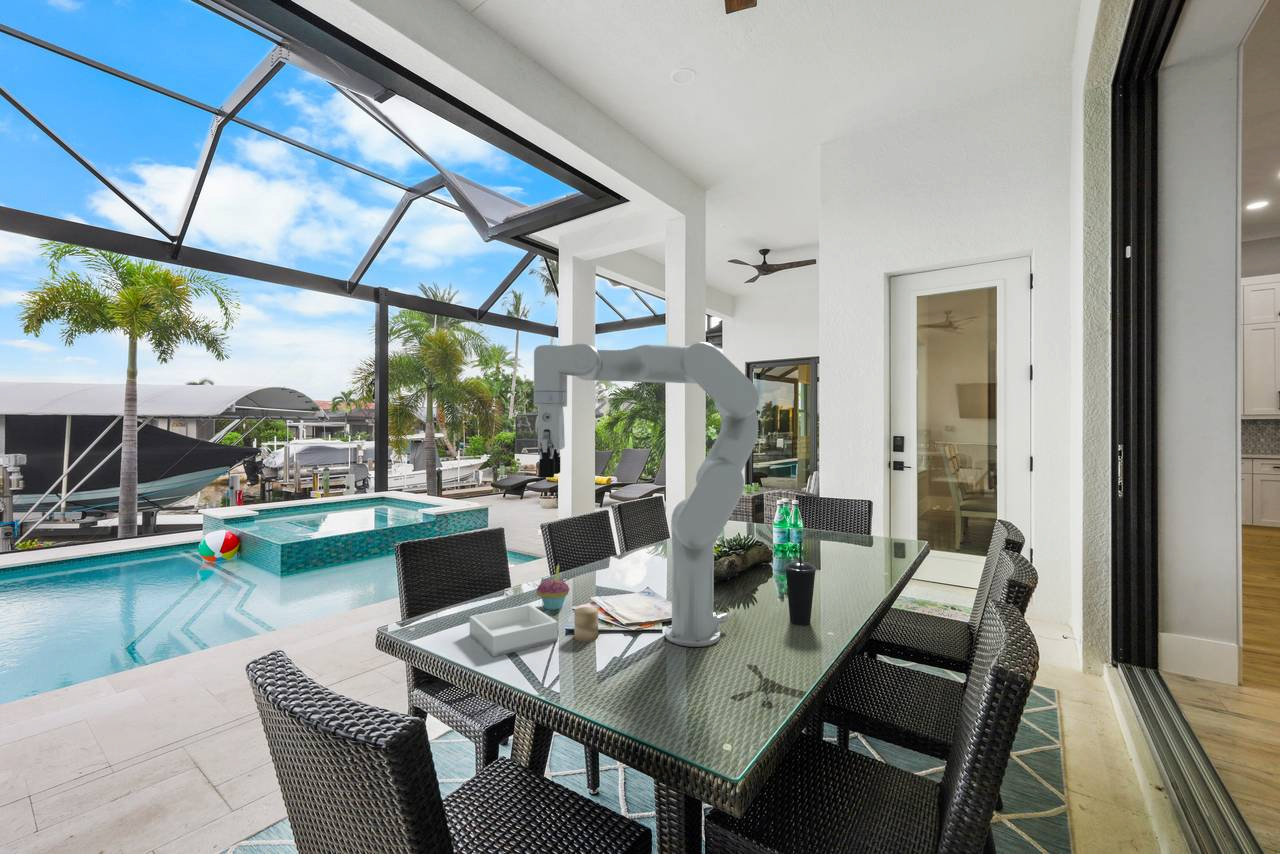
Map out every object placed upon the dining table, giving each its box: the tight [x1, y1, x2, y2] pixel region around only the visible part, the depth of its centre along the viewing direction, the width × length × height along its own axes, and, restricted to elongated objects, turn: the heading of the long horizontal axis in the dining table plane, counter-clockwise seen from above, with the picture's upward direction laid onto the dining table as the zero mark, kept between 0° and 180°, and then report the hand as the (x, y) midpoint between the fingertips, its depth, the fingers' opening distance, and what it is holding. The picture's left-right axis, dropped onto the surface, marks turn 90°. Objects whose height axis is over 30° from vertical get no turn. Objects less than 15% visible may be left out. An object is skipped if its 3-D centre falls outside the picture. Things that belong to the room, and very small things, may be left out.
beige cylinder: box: [573, 606, 599, 643], centre depth 128 cm, size 5×5×6 cm
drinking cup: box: [783, 540, 817, 626], centre depth 138 cm, size 8×8×20 cm
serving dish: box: [469, 603, 559, 658], centre depth 127 cm, size 15×15×4 cm
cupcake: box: [536, 562, 570, 610], centre depth 148 cm, size 9×8×12 cm
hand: (550, 475), depth 127 cm, fingers open, 9 cm apart
